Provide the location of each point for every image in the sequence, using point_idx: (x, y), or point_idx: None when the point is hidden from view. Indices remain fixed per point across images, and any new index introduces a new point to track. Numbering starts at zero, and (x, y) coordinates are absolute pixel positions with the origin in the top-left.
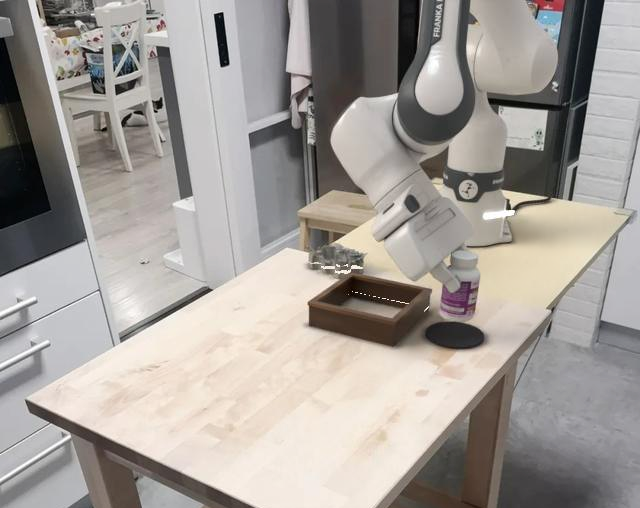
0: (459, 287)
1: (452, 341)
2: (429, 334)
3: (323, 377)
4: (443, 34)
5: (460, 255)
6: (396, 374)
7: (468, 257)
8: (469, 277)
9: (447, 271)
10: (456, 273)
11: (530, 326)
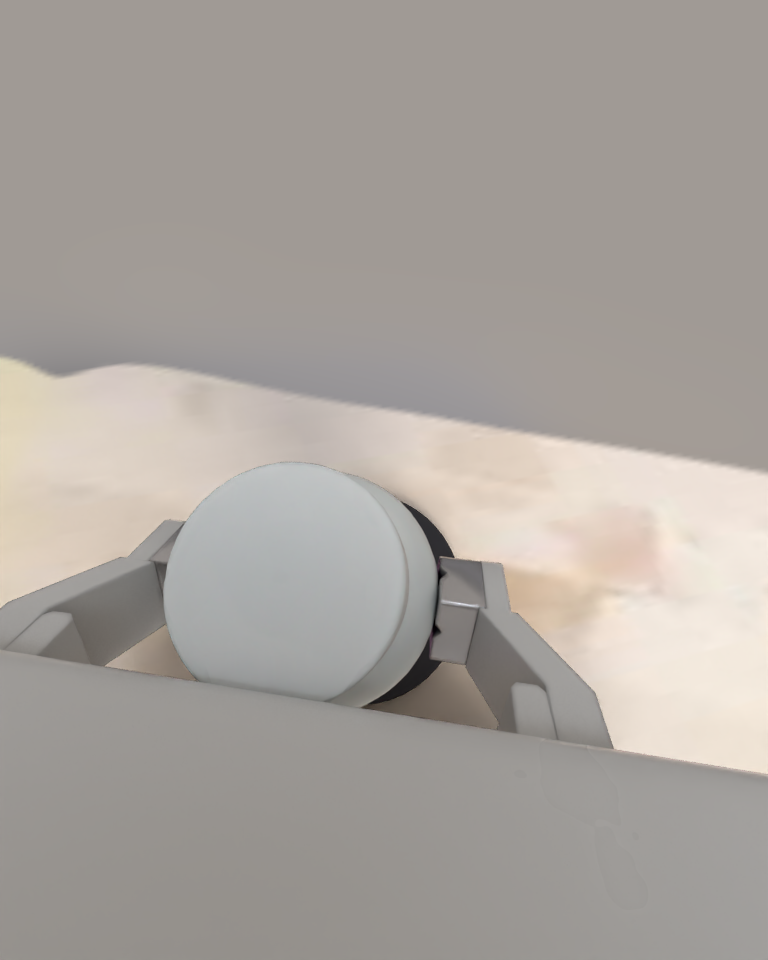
0: (497, 563)
1: None
2: (400, 681)
3: None
4: None
5: (325, 608)
6: (734, 720)
7: (354, 528)
8: (412, 517)
9: (557, 663)
10: (418, 607)
11: (207, 384)
